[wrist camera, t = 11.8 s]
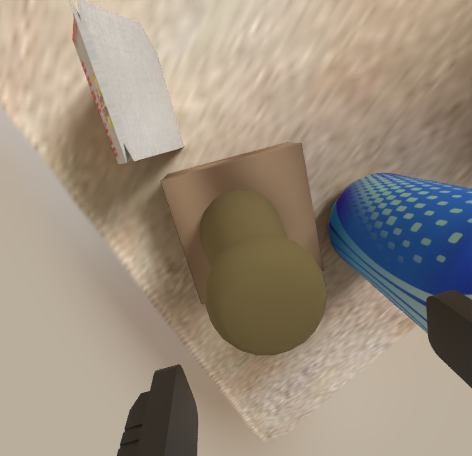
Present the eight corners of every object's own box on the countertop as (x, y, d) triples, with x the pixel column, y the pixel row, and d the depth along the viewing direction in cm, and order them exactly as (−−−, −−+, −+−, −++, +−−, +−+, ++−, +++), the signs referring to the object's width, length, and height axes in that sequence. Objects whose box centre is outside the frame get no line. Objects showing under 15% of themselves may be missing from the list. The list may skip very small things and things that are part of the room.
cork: (269, 274, 23) (322, 388, 12) (192, 260, 22) (179, 371, 12) (290, 199, 21) (372, 258, 11) (208, 181, 20) (212, 225, 10)
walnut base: (286, 142, 24) (301, 143, 20) (307, 252, 27) (323, 270, 23) (167, 174, 24) (160, 181, 20) (202, 281, 27) (201, 304, 23)
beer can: (337, 274, 28) (492, 434, 13) (310, 194, 26) (464, 276, 10) (419, 239, 28) (676, 360, 13) (400, 155, 25) (693, 181, 10)
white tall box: (157, 52, 21) (118, -16, 12) (184, 146, 23) (169, 152, 14) (107, 65, 21) (28, 6, 12) (139, 158, 23) (93, 171, 14)
